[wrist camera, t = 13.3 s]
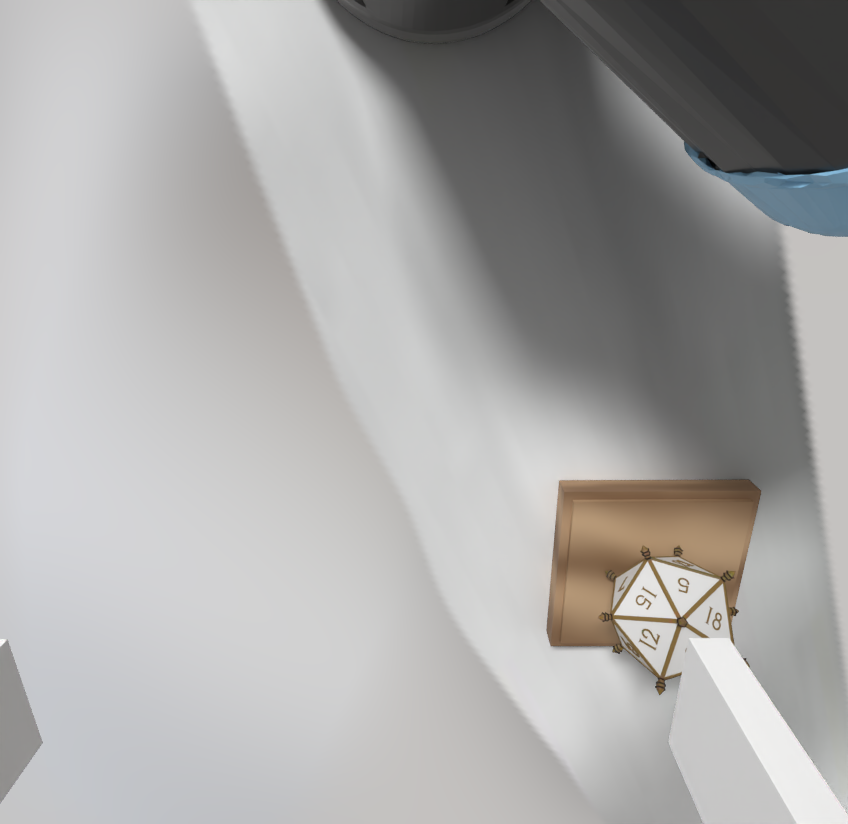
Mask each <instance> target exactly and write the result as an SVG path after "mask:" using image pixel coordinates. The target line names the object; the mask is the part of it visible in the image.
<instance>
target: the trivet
mask: <svg viewBox="0 0 848 824" xmlns="http://www.w3.org/2000/svg"><path fill="white" fill-rule="evenodd" d="M760 495H761V490H760V489H759V488H758V487H756V486H755V485H754V484H753V483H752V482H751V481H750V480H571V481H559V489H558V501H557V513H556V525H555V537H554V549H553V560H552V572H551V584H550V596H549V608H548V619H547V634H548V638H549V642H550V645H551V646H615V645H616V644H620V641H619V639H618V636H617V634H616V631H615V629H614V626H613V624H612V621H611V620H609V621H607V622H606V621H604V622H602V620H600V619H599V618H597V617H598V616H599V615H601V613H602V612H603V613H605V612H606V613H608V614H610V610H611V602H612V594H613V586H614V580H613V579H610V578H609V577H607V575H606V573H605V571H610V570H612V572H614V573H615V575H616V576H618V575H619V574H621V573H622V572H624V571H626V570H627V569H629V568H630V567H632V566H633V565H635V564H637V563H638V562H640V561H641V560H643V559H644V558H645V557H644V556H642V553H641V552H640V551H641V549H642V546H643V545H644V546H645V547H647V548H649V551H650V557H655V556H675V554H674V551H675V550H674V548H676V547H677V546H678V545H679V546H680V547H681V549H682V550H683V552H682V553H683V554H682V555H681V556H680V557H682V558H684V559H686V560H688V561H690V562H692V563H694V564H696V565H698V566H700V567H702V568H704V569H706V570H708V571H710V572H712V573H714V574H716V575H718V576H720V577H721V576H723V573H725V572H726V570H728V571H736V572H735V575H734V579H731V580H730V581H728V580H727V581H726V582H725V583H726V590H727V597H728V604H729V607H731V608H732V607H735V605H736V600H737V596H738V591H739V587H740V583H741V578H742V574H743V570H744V565H745V561H746V556H747V552H748V548H749V543H750V539H751V534H752V530H753V526H754V521H755V517H756V513H757V508H758V504H759V499H760ZM730 618H731V622H732V618H733V616H731V615H730Z"/></svg>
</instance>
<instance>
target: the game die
mask: <svg viewBox="0 0 848 824" xmlns="http://www.w3.org/2000/svg"><path fill="white" fill-rule="evenodd" d="M674 550H675V551H674V554H675V556H655V557H650V551H649V548H647V547H645V546H644V545H643V546H642V549H641V551H640V552H641V553H642V556H644V557H645V558H644V559H643V560H641V561H640V562H638V563H637V564H635V565H633V566H632V567H630V568H629V569H627V570H626V571H624V572H622V573H621V574H619V575H618V576H616V575H615V573H614V572H612V570H610V571H605V573H606V575H607V577H609V578H610V579H613V580H614V586H613V594H612V602H611V610H610V614H608V613H606V612H605V613H603V612H602V613H601V615H599V616H598V617H597V618H599V619H600V620H602V622H604V621H606V622H607V621H609V620H611V621H612V624H613V626H614V629H615V631H616V634H617V636H618V639H619V641H620V644H616V645H615V646H613V647H614V648H613V652H615V653H619V654H620V652H622V650H623V648H624V649H625V650H626V651H627V652H629V653H630V654H631V655H632V656H633V657H634V658H636V659H637V660H638V661H639V662H640V663H641V664H642V665H644V666H645V667H646V668H647V669H648V670H649V671H650V672H652V673H653V674H654V675H655V676H656V677H657V678H658V681H657V682H656V686H655V688H656V689H657V691H658V693H659V695H660V694H661V693H662V692H663V691H665V687H666V685H665V683H664V681H665V680H668V679H671V678H674V677H677V676H680V675H682V670H683V665H684V660H685V655H686V649H687V644H688V639H689V638H729V639H730V640H731V642H732V643H733V645H734V639H733V632H732V625H731V618H730V615H731V616H733V615H734V616H736V614H737V613H738V612H739V611H738V610H737V609H735V607H732V608H731V607H729V604H728V597H727V590H726V583H725V582H726V581H727V580H728V581H730V580H731V579H734V575H735V572H736V571H728V570H726V572H725V573H723V576H721V577H720V576H718V575H716V574H714V573H712V572H710V571H708V570H706V569H704V568H702V567H700V566H698V565H696V564H694V563H692V562H690V561H688V560H686V559H684V558H682V557H680V556H681V555H682V554H683V553H682V552H683V550H682V549H681V547H680V546H679V545H678V546H677V547H676V548H674ZM741 657H742V656H741ZM742 658H743V657H742ZM743 660H744V661H745V663H746V664H747V665H748V667H750V666H749V664H748V662H747V661H746V658H745V659H744V658H743Z"/></svg>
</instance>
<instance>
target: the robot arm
mask: <svg viewBox="0 0 848 824" xmlns="http://www.w3.org/2000/svg"><path fill="white" fill-rule="evenodd" d="M337 1H338V2H339V3H340V4H341V5H342V6H343V7H344V8H345V9H346V10H347V11H349V12H350V13H351V14H352V15H354V16H355V17H356V18H358V19H359V20H361V21H362V22H364V23H365V24H367V25H369V26H370V27H372V28H374V29H376V30H378V31H380V32H382V33H385V34H387V35H390V36H392V37H396V38H399V39H402V40H407V41H412V42H419V43H434V44H436V43H449V42H456V41H460V40H465V39H469V38H472V37H475V36H478V35H480V34H483V33H485V32H487V31H489V30H491V29H493V28H495V27H497V26H499V25H501V24H502V23H504V22H505V21H507V20H508V19H510V18H511V17H513V16H514V15H515V14H517V13H518V12H519V11H520V10H521V9H523V8H524V7H525V6H526V5H527V4H528V3H529V2H530V1H531V0H337ZM540 1H541V2H542V3H543V4H544V5H545V6H546V7H547V8H548V9H549V10H550V11H551V12H552V13H553V14H554V15H555V16H556V17H557V18H558V19H559V20H560V21H561V22H562V23H563V24H564V25H565V26H566V27H567V28H568V29H569V30H571V31H572V32H573V33H574V34H575V35H576V36H577V37H578V38H579V39H580V40H581V41H582V42H583V43H584V44H585V45H586V46H587V47H588V48H589V49H590V50H591V51H592V52H593V53H594V54H595V55H596V56H597V57H598V58H599V59H600V60H601V61H602V62H603V63H604V64H605V65H606V66H608V67H609V68H610V69H611V70H612V71H613V72H614V73H615V74H616V75H617V76H618V77H619V78H620V79H621V80H622V81H623V82H624V83H625V84H626V85H627V86H628V87H629V88H630V89H631V90H632V91H633V92H634V93H635V94H636V95H637V96H638V97H639V98H640V99H641V100H642V101H644V102H645V103H646V104H647V105H648V106H649V107H650V108H651V109H652V110H653V111H654V112H655V113H656V114H657V115H658V116H659V117H660V118H661V119H662V120H663V121H664V122H665V123H666V124H667V125H668V126H669V127H670V128H671V129H672V130H673V131H674V132H675V133H676V134H677V135H678V136H679V137H681V138H682V139H683V140H684V146H685V150H686V152H687V153H688V155H689V156H690V157H691V158H692V159H693V160H694V162H695V163H696V164H697V165H698V166H700V167H701V168H702V169H703V170H704V171H706V172H708V173H710V174H712V175H715V176H717V177H719V178H721V179H723V180H725V181H726V182H729V183H730V184H731V185H732V186H733V187H734V188H736V189H737V190H738V191H739V192H740V193H741V194H742V195H744V196H745V197H746V198H747V199H748V200H749V201H750V202H752V203H753V204H754V205H755V206H756V207H757V208H758V209H760V210H761V211H762V212H763V213H765V214H766V215H767V216H769V217H770V218H771V219H773V220H775V221H777V222H779V223H781V224H783V225H786V226H792V227H794V228H797V229H800V230H803V231H806V232H808V233H812V234H820V235H824V236H838V237H841V236H842V237H848V0H540ZM42 743H43V742H42V739H41V736H40V734H39V730H38V728H37V725H36V722H35V719H34V716H33V713H32V710H31V707H30V704H29V701H28V698H27V695H26V692H25V689H24V687H23V684H22V681H21V678H20V675H19V672H18V669H17V666H16V663H15V660H14V657H13V654H12V652H11V649H10V646H9V643H8V640H7V639H6V640H5V639H3V640H1V639H0V803H1V802H2V800H3V799H4V797H5V796H6V794H7V793H8V792H9V790H10V789H11V787H12V786H13V785H14V783H15V782H16V780H17V779H18V777H19V776H20V775H21V773H22V772H23V770H24V769H25V767H26V766H27V764H28V763H29V762H30V760H31V759H32V757H33V756H34V755H35V753H36V752H37V750H38V749H39V747H40V746H41V744H42ZM668 744H669V746H670V748H671V751H672V753H673V755H674V758H675V760H676V762H677V765H678V767H679V769H680V771H681V774H682V776H683V778H684V781H685V783H686V785H687V788H688V790H689V792H690V795H691V797H692V799H693V801H694V804H695V806H696V808H697V811H698V813H699V815H700V818H701V820H702V822H703V824H848V814H847V813H846V811H845V810H844V808H843V807H842V805H841V804H840V802H839V801H838V799H837V798H836V796H835V795H834V793H833V792H832V790H831V789H830V787H829V786H828V784H827V783H826V781H825V780H824V778H823V777H822V776H821V774H820V773H819V771H818V770H817V768H816V767H815V765H814V764H813V762H812V761H811V759H810V758H809V756H808V755H807V753H806V752H805V750H804V749H803V747H802V746H801V744H800V743H799V741H798V740H797V738H796V737H795V735H794V734H793V732H792V731H791V729H790V728H789V726H788V725H787V723H786V722H785V721H784V719H783V718H782V716H781V715H780V713H779V712H778V710H777V709H776V707H775V706H774V704H773V703H772V701H771V700H770V698H769V697H768V695H767V694H766V692H765V691H764V689H763V688H762V686H761V685H760V683H759V682H758V680H757V679H756V677H755V676H754V674H753V673H752V671H751V670H750V668H749V667H748V665H747V664H746V663H745V661H744V660H743V658H742V657H741V655H740V654H739V652H738V651H737V649H736V648H735V646H734V645H733V643H732V642H731V640H730V639H729V638H689V639H688V644H687V649H686V655H685V660H684V665H683V670H682V675H681V680H680V685H679V690H678V695H677V700H676V705H675V710H674V715H673V720H672V725H671V731H670V736H669V741H668Z"/></svg>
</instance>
